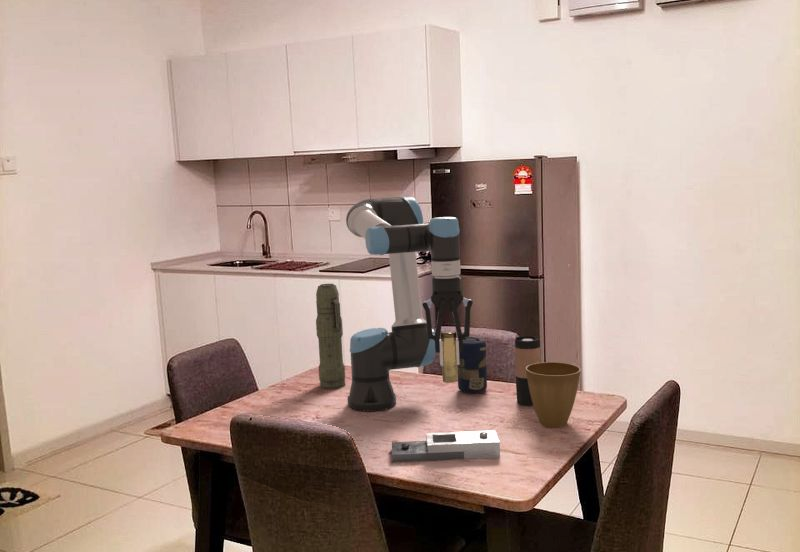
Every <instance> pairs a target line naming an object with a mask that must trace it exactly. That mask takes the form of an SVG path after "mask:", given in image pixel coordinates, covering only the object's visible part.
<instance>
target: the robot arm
mask: <svg viewBox="0 0 800 552" xmlns="http://www.w3.org/2000/svg"><path fill="white" fill-rule="evenodd" d="M345 223H346V227H347V229H348V231H350V232H351V233H352V235H354V236H356V237H358V238H363V239H364V241H365V248H366V249H367V253H368V254H369V255H371V256H372V255H376V256H377V255H379V256H384V255H388V258H389V259H388V261H389V269H390V280H391V290H392V298H393V299H392V300H393V309H394V317H395V320H394V322H393V324H392V325H391V331H390V332H388V330H387V329H386V328H384V327H372V328H368V329H363V330H360V331H357V332H356V333H354V334H353V335H352V336H351V337H350V339H349V340H350V342H349V344H350V345H349V346H350V347H349V352H350V364H351V365H350V366H351V368H350V369H351V386H350V390H349V394H348V396H347V407H348V408H349V409H351V410H352V411H353V410H354V411H357V412H358V411H359V412H377V411H385V410H388V409H391V408H393V407H395V406H396V404H397V395H396V394H395V390H394V388H393V385H392V383H391V379H390V371H392V370H400V369H410V368H411V369H413V368H420V367H425V366H430V365H431V364H432V363H433V361H434V359H435V357H436V353H437V354H438V353H439V364H440V366H441V367H442V365H443V341H441V332H442V325H443V318H444V313H446V312H450V313H452V317H453V321H454V327H455V332H456V363H457V365H460V364H459V352H460V351H463V339H464V338H466V337H470V335H471V334H470V333H471V331H470V327H471V326H470V325H471V308H472V306H473V300H472V299H471V298H466V297H464V295H463V294H462V278H461V277H460V275H461V255H460V254H461V253H460V252H461V249H460V245H461V244H460V231H461V230H460V225H459V219H458V218H457V217H454V216H442V217H441V216H439V217H433V218H430V220H429V222H427V221H426V222H424V217H423V211H422V209H421V206H420V204H419V202H418V200H417V199H416V198H414V197H413V196H412V197H411V196H396V197H395V196H394V197H383V198H381V197H379V198H368V199H363V200H361V201H359V202H356V203H355V204H354V205H352V206H351V208H350V209H349V210H348V211H347V214H346V217H345ZM419 252H422V253H423V252H430V256H431V257H430V258H431V259H430V260H431V261H430V262H431V265H430V266H431V275H432V276H433V277H432V279H431V286H432V288H431V289H432V294H431V297H430V298H429V299H427V300H423V301H422V299H421V291H420V283H419V282H420V280H419V271H418V264H417V261H418V260H417V255H416V253H419ZM462 303H463V307H464V319H463V320H464V321H463V323H464V325H463V327H464V329H463V331H462V328H461V324H460V318H459V313H458V308H459V307H460V305H461V304H462ZM432 304H433V305H434V306H435V308H436V309H437V317H436V325H435V330H434V328H433V327H432V317H431V308H432ZM423 310H424V311H425V319H424V317H423Z"/></svg>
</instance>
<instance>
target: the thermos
mask: <svg viewBox="0 0 800 552" xmlns="http://www.w3.org/2000/svg"><path fill="white" fill-rule="evenodd" d="M339 295H340V293H339V290H338V287H337V285H336V284H334V283H322V284H321V283H320V284H319V285H318V286H317V289H316V293H315V296H316V297H315V298H316V302H315V303H316V315H317V316H316V319H315V325H316V326H315V327H316V328H315V329H316V337H317V338H318V352H319V355H318V356H319V364H318V365H319V366H318V379H319V388H321V389H324V390H337V389H341V388H343V387H345V386H346V366H345V363H344V358H343V339H342V337H343V333H344V331H343V319H342V316H341V304H340V296H339Z"/></svg>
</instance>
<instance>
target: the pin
mask: <svg viewBox="0 0 800 552" xmlns="http://www.w3.org/2000/svg"><path fill="white" fill-rule="evenodd" d="M456 338H457V332H456V331H453V330H452V331H451V330H449V331H448V330H447V331H441V333H440V339H441V341H443V365H442V366H441V369H442V382H443V383H446V384H451V383H453V384H454V383H458V366H457V363H456Z"/></svg>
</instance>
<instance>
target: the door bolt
mask: <svg viewBox="0 0 800 552" xmlns="http://www.w3.org/2000/svg"><path fill="white" fill-rule="evenodd" d="M425 438H426V440H415V441H414V440H413V441H412V440H411V441H392V442H391V463H408V462H410V463H411V462H427V461H428V462H429V461H430V462H431V461H433V462H434V461H451V460H452V461H453V460H454V461H455V460H472V459H474V460H475V459H493V458H496V459H497V458H498V459H499V458H501V444H500V439H499V437H498V434H497V431H496V430H495V429H493V430H492V429H490V430H489V429H488V430H471V431H470V430H468V431H466V430H465V431H448V432H447V431H446V432H428V433H427V432H426V433H425Z"/></svg>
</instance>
